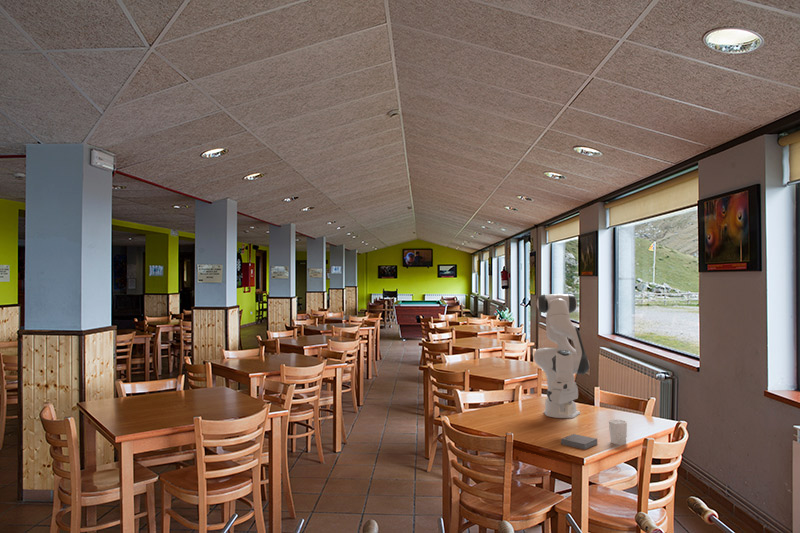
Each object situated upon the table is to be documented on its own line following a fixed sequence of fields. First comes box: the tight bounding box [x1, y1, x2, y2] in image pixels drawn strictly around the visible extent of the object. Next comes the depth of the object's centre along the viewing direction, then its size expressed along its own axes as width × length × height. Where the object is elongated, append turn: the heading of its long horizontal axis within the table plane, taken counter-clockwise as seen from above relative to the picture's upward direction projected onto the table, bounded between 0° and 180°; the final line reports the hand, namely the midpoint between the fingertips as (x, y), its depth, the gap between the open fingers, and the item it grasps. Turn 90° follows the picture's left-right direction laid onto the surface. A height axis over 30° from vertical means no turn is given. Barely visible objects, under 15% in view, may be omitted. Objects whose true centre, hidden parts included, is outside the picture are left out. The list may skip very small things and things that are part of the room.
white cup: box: [608, 419, 628, 446], centre depth 244 cm, size 8×8×10 cm
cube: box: [559, 403, 573, 416], centre depth 259 cm, size 5×5×5 cm
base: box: [560, 433, 598, 450], centre depth 242 cm, size 12×12×2 cm
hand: (565, 410), depth 259 cm, fingers closed on cube, 5 cm apart
